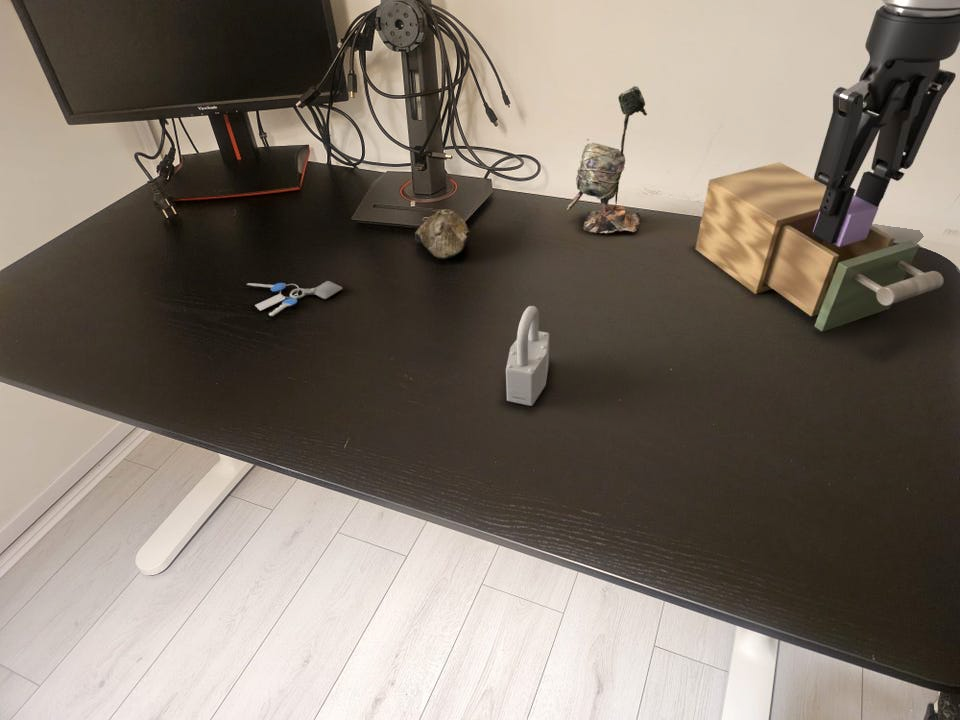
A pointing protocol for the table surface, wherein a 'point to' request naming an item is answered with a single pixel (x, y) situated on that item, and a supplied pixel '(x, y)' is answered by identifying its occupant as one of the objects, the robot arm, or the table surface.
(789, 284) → the pull-out drawer
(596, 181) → the metal wire sculpture
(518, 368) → the padlock
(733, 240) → the wooden drawer box
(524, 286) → the table surface
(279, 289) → the key chain
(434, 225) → the fossilized seashell
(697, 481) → the table surface
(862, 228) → the purple block
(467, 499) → the table surface
